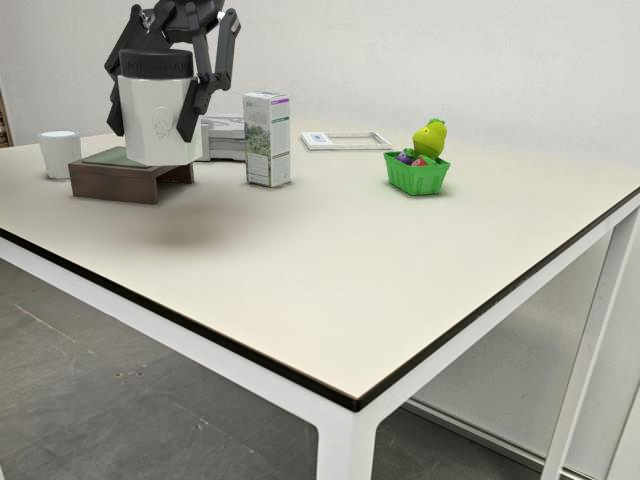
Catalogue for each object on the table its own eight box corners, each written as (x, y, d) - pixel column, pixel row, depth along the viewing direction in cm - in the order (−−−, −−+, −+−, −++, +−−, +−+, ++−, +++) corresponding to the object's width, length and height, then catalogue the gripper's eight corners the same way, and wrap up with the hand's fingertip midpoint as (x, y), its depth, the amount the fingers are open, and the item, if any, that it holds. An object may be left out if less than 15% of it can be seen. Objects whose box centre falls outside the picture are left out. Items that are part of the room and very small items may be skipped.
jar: (127, 167, 69) (113, 53, 63) (127, 151, 76) (115, 47, 70) (206, 165, 71) (199, 54, 66) (199, 150, 78) (193, 48, 72)
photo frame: (300, 131, 140) (375, 130, 143) (300, 136, 141) (375, 135, 144) (309, 144, 127) (392, 143, 130) (309, 149, 128) (391, 148, 131)
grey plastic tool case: (141, 140, 133) (137, 103, 129) (268, 144, 133) (267, 107, 129) (112, 159, 116) (106, 118, 112) (257, 164, 116) (256, 122, 112)
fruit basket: (379, 181, 107) (383, 114, 101) (423, 178, 109) (430, 113, 104) (407, 198, 97) (414, 126, 92) (455, 195, 100) (464, 124, 95)
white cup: (79, 168, 110) (73, 128, 106) (91, 176, 105) (85, 134, 102) (39, 172, 106) (31, 131, 103) (50, 181, 101) (42, 138, 98)
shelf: (73, 195, 94) (67, 162, 92) (121, 175, 106) (116, 144, 104) (154, 204, 91) (150, 170, 89) (194, 181, 103) (192, 151, 101)
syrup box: (291, 181, 105) (291, 93, 98) (271, 188, 101) (269, 96, 94) (266, 176, 108) (264, 89, 101) (244, 183, 103) (241, 93, 97)
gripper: (285, 4, 77) (243, 159, 70) (137, -2, 81) (85, 144, 75) (271, -48, 70) (223, 118, 63) (110, -52, 74) (50, 105, 68)
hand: (148, 132), depth 69 cm, fingers closed on jar, 8 cm apart
